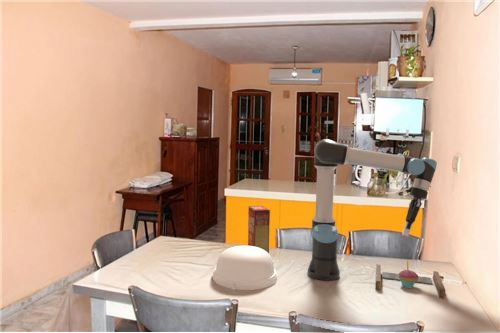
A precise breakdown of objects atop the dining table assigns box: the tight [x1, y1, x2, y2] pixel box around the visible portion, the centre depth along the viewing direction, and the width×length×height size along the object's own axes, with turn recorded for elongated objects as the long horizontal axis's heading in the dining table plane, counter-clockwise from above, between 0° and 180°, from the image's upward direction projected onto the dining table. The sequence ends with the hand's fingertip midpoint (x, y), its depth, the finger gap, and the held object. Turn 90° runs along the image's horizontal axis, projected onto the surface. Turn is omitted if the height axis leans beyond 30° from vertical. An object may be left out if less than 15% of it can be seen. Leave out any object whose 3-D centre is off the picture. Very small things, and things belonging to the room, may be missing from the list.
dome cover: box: [212, 245, 278, 291], centre depth 194 cm, size 32×30×14 cm
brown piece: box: [374, 264, 446, 300], centre depth 192 cm, size 28×24×4 cm
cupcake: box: [398, 258, 419, 289], centre depth 189 cm, size 9×8×12 cm
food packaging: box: [247, 205, 271, 254], centre depth 236 cm, size 13×9×25 cm
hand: (405, 235), depth 202 cm, fingers closed
